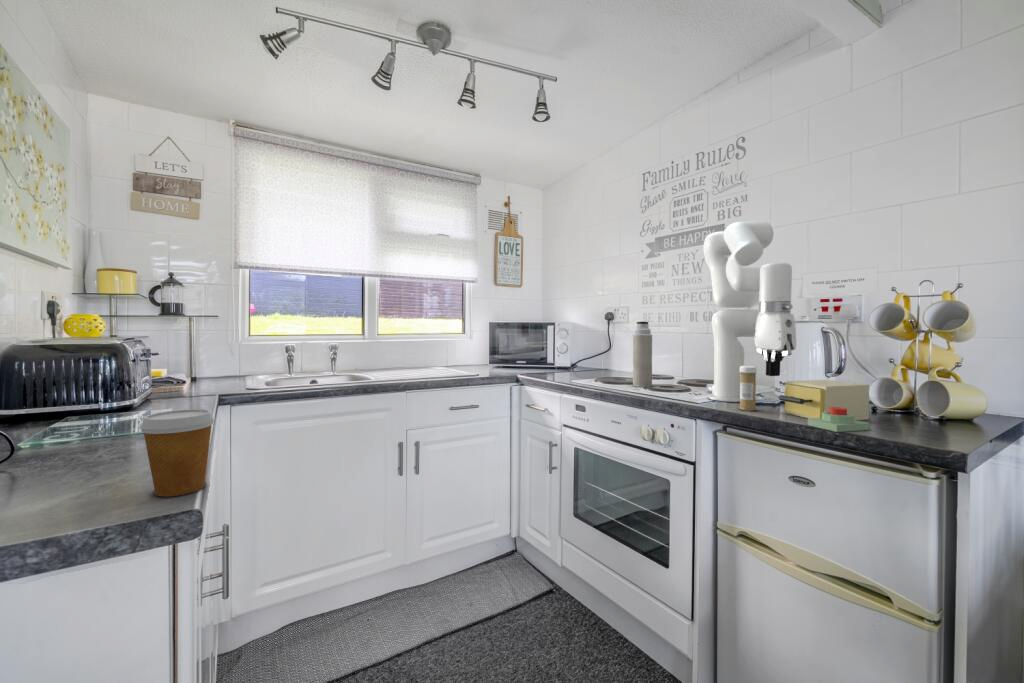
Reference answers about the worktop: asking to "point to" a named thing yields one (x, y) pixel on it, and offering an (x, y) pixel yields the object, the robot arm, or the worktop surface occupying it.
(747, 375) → the sprinkles bottle
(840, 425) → the control block
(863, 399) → the drawer cabinet
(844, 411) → the button
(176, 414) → the disposable coffee cup
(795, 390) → the yellow drawer
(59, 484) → the worktop surface
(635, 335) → the thermos bottle
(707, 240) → the robot arm
